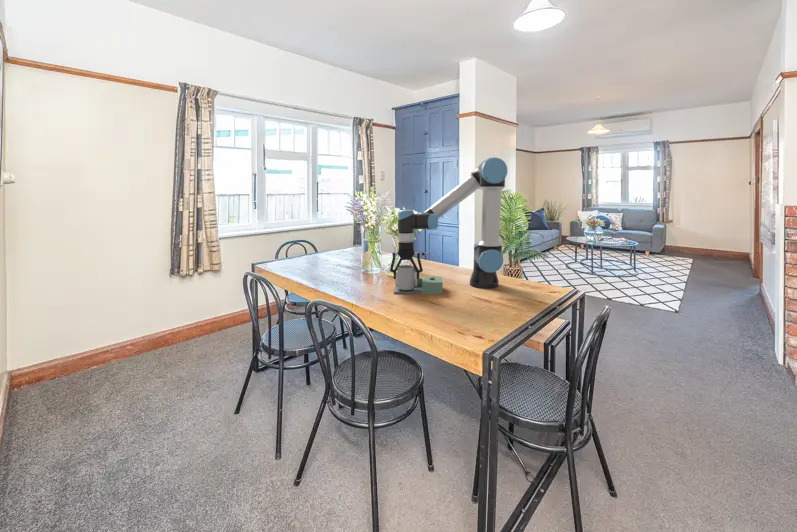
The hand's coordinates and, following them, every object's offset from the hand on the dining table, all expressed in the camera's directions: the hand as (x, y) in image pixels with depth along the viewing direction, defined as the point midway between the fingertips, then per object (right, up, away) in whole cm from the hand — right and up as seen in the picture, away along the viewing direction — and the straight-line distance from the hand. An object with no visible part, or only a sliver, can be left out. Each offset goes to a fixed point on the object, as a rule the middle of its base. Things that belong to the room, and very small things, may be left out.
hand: (406, 285), depth 198 cm
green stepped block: (+7, -3, +1) cm, 8 cm away
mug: (+1, -1, 0) cm, 2 cm away
